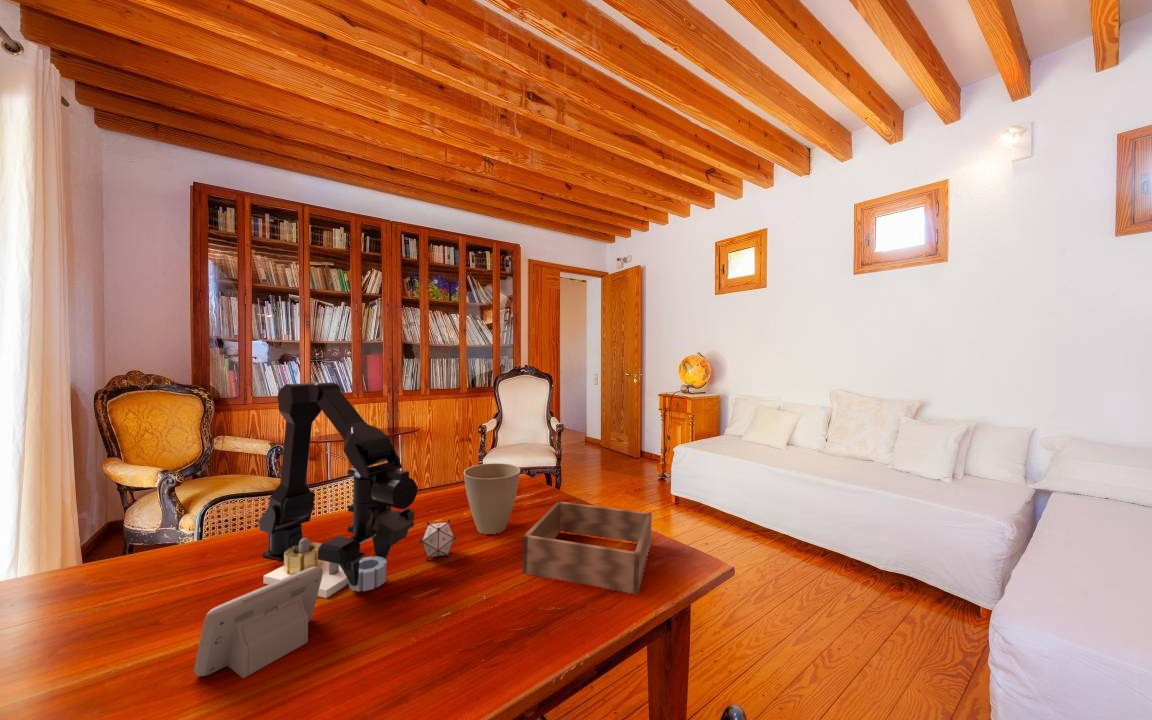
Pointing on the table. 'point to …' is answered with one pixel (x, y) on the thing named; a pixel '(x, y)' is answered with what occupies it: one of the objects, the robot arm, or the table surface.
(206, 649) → the digital clock
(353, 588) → the slate gear
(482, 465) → the plant pot
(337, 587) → the gear board
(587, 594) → the table surface
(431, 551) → the game die
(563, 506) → the open rectangular box frame
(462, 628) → the table surface
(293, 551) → the brass gear
